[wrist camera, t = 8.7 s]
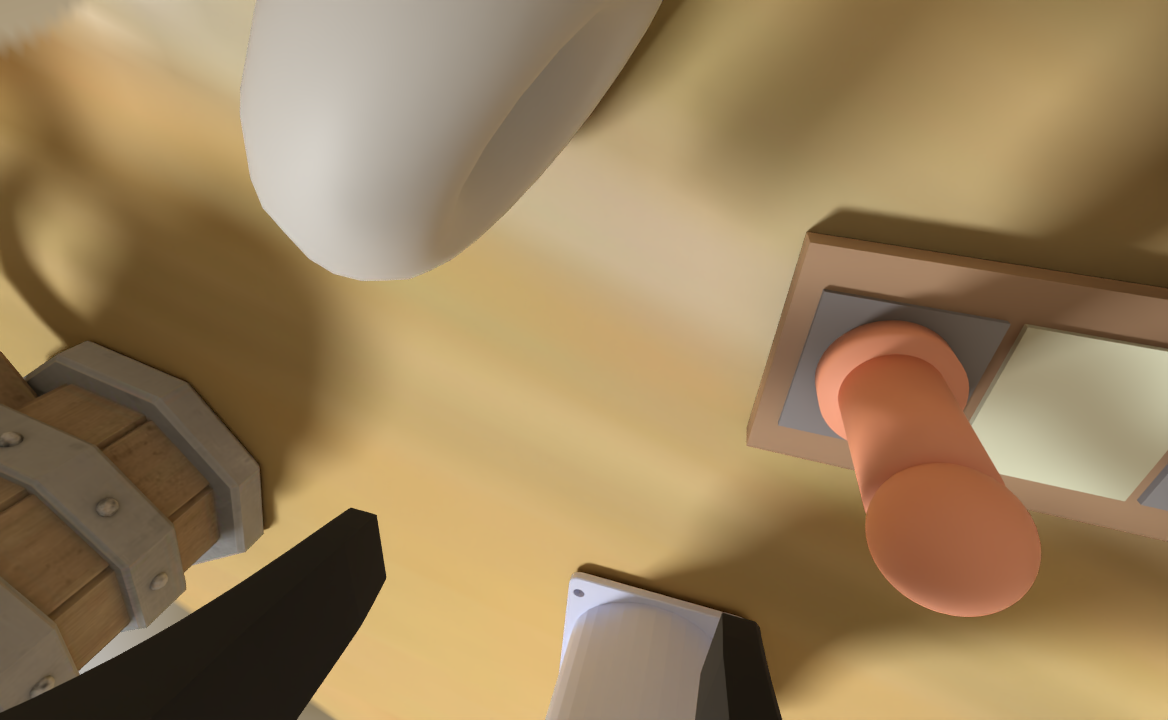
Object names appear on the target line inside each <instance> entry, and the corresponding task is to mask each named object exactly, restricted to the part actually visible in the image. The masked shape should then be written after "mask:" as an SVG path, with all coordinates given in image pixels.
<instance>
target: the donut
mask: <svg viewBox="0 0 1168 720" xmlns="http://www.w3.org/2000/svg"><path fill="white" fill-rule="evenodd" d="M662 1H663V0H256V3H255V9H254V14H253V20H252V26H251V31H250V37H249V42H248V48H247V54H246V59H245V65H244V71H243V76H242V82H241V87H240V118H241V124H242V130H243V136H244V142H245V148H246V154H247V160H248V166H249V172H250V178H251V181H252V183H253V186H254V188H255V191H256V193H257V195H258V198H259V200H260V203H261V205H262V207H263V209H264V210H265V211H266V212H267V213H268V214H269V216H270V217H271V218H272V219H273V220H274V221H275V222H276V223H277V225H278V226H279V227H280V228H281V229H282V230H283V231H284V233H285V234H286V235H287V236H288V237H289V238H290V239H291V240H292V241H293V242H294V243H295V244H296V245H297V247H298V248H299V249H300V250H301V251H302V252H303V253H304V254H305V255H306V256H307V257H308V258H309V259H310V260H312V261H313V262H315V263H317V264H318V265H320V266H322V267H323V268H325V269H327V270H328V271H330V272H332V273H333V274H336V275H340V276H344V277H348V278H352V279H356V280H360V281H379V280H402V279H411V278H413V277H416V276H418V275H421V274H423V273H426V272H428V271H430V270H432V269H434V268H436V267H438V266H440V265H442V264H444V263H446V262H448V261H450V260H451V259H453V258H454V257H456V256H457V255H458V254H459V253H461V252H462V251H463V250H465V249H466V248H467V247H468V246H470V245H471V244H472V243H474V242H475V241H476V240H477V239H479V238H480V237H481V236H482V235H483V234H484V233H485V232H486V231H487V230H488V229H489V228H490V227H491V226H492V225H494V224H495V223H496V222H497V221H498V220H499V219H500V218H501V217H502V216H503V215H504V214H505V213H506V212H507V211H508V210H509V209H510V208H511V207H512V206H513V205H514V204H515V203H516V202H517V201H518V200H519V199H520V197H521V196H522V195H523V194H524V193H525V192H526V191H527V190H528V189H529V188H530V187H531V186H532V185H533V184H534V183H535V182H536V180H537V179H538V178H539V177H540V176H541V175H542V174H543V173H544V171H545V170H546V169H547V168H548V167H549V165H550V164H551V163H552V162H553V161H554V160H555V158H556V157H557V156H558V155H559V154H560V153H561V151H562V150H563V149H564V148H565V147H566V145H567V144H568V143H569V142H570V140H571V139H572V138H573V136H574V135H575V134H576V133H577V131H578V130H579V129H580V127H581V126H582V125H583V123H584V122H585V121H586V120H587V118H588V117H589V116H590V114H591V113H592V112H593V110H594V109H595V108H596V106H597V105H598V103H599V102H600V100H601V99H602V98H603V96H604V95H605V93H606V92H607V91H608V89H609V88H610V86H611V85H612V83H613V82H614V81H615V79H616V78H617V76H618V75H619V73H620V72H621V71H622V69H623V68H624V66H625V64H626V63H627V61H628V60H629V58H630V56H631V55H632V53H633V52H634V50H635V48H636V47H637V45H638V44H639V42H640V40H641V39H642V37H643V36H644V34H645V32H646V31H647V29H648V28H649V26H650V24H651V22H652V20H653V18H654V16H655V14H656V12H657V11H658V9H659V7H660V5H661V3H662Z"/></svg>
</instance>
